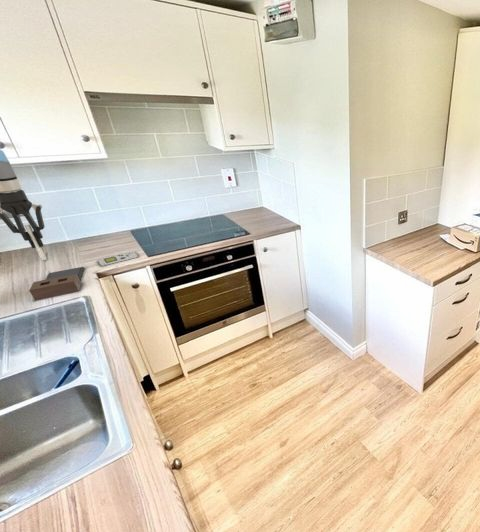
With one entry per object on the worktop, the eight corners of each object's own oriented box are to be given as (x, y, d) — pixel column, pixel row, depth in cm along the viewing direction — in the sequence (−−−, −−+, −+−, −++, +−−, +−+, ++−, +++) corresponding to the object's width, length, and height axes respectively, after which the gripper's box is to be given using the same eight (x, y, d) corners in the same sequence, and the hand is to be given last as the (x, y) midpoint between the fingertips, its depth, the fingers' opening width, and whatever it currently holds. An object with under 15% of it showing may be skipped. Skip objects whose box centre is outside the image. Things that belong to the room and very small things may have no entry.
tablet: (42, 289, 139) (41, 287, 138) (50, 274, 150) (49, 272, 150) (79, 282, 145) (78, 279, 145) (84, 268, 157) (83, 266, 156)
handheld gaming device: (137, 255, 168) (101, 264, 158) (138, 256, 169) (101, 266, 159) (133, 250, 174) (97, 259, 163) (133, 252, 174) (98, 260, 164)
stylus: (42, 262, 136) (24, 225, 130) (42, 261, 138) (25, 225, 131) (47, 261, 137) (29, 225, 131) (47, 260, 138) (30, 224, 132)
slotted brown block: (78, 291, 138) (73, 281, 136) (35, 300, 131) (29, 290, 129) (81, 283, 144) (76, 273, 142) (39, 292, 137) (33, 281, 135)
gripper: (37, 186, 131) (63, 240, 142) (-16, 191, 123) (15, 247, 134) (33, 190, 126) (60, 245, 136) (-23, 195, 118) (10, 253, 129)
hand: (38, 246), depth 135 cm, fingers closed on stylus, 1 cm apart
